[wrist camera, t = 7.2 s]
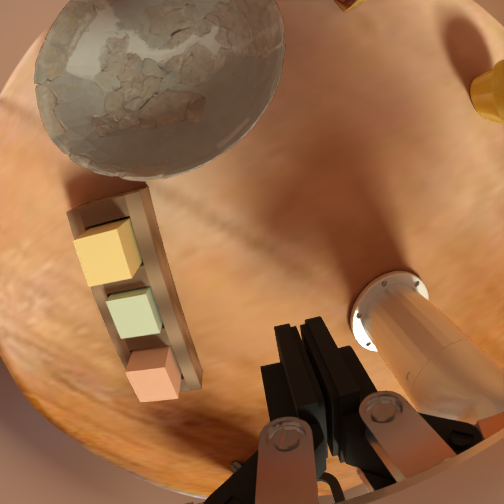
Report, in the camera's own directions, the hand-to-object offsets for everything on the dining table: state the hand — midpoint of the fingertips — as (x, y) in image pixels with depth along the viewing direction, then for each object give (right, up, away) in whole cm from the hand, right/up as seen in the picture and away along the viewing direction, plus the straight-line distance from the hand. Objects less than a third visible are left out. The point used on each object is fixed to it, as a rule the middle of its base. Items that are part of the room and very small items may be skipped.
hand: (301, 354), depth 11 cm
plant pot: (+32, +26, +23) cm, 48 cm away
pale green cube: (-15, -2, +28) cm, 32 cm away
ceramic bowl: (-11, +23, +20) cm, 33 cm away
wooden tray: (-15, -2, +28) cm, 32 cm away
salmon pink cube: (-14, -10, +28) cm, 33 cm away
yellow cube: (-17, +5, +22) cm, 28 cm away
